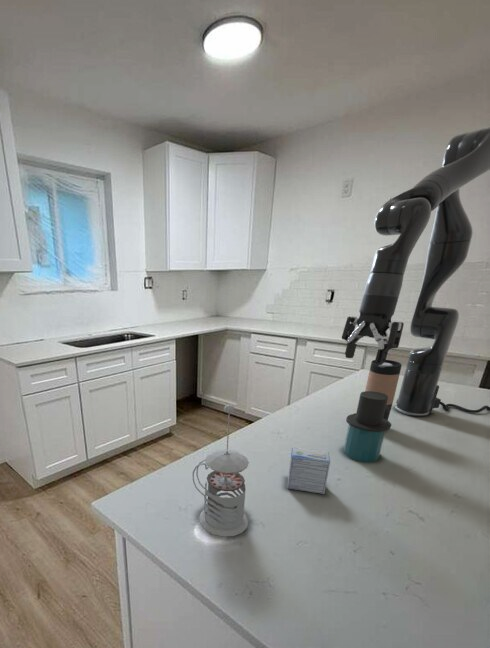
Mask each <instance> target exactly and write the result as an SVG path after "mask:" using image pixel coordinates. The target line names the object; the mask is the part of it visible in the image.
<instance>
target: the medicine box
mask: <svg viewBox="0 0 490 648" xmlns="http://www.w3.org/2000/svg"><path fill="white" fill-rule="evenodd" d="M330 457H331V456H330V452H328V451H323V450H317V449H308V448H302V447H301V448H300V447H291V452H290V459H289V468H288V476H287V485H286V488H287V489H289V490H296V491H303V492H307V493H308V492H309V493H314V494H322V495H325V492H326V487H327V483H328V482H327V481H328V476H329V471H330V466H331V458H330Z"/></svg>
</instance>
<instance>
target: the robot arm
mask: <svg viewBox="0 0 490 648" xmlns="http://www.w3.org/2000/svg"><path fill="white" fill-rule="evenodd" d="M442 158H443V159H442V164H441V167H439V168H437V169H435V170H433V171H432V172H430V173H429V174H428V175H426V176H424V177H423V178H422V179H421V180H420V181H418V183H416V184H415V185H414V186H413V187H412V188H410V189H408V190H405V191H403V192H401V193H400V194H398V195H396V196H394V197H392V198H390V199H389V200H387V201H386V202H384V204H383V205H381V207H380V208H379V209H378V211H377V213H376V214H375V217H374V230H375V231H376V233H378V234H379V235H380V236H386V237H388V236H398V238H397V239H396V240H395V241H394V242H393V243H390V244H387V245H383V246H381V247H379V248H377V250H376V251H375V254H374V257H373V261H372V264H371V268H370V271H369V275H368V278H367V280H366V283H365V287H364V290H363V295H362V299H361V301H360V302H361V303H360V307H359V310H358V311H359V316H347V318H346V321H345V324H344V328H343V331H342V335H341V339H342V340H344V341H346V343H347V344H346V348H345V353H344V356H345V358H346V359H353V358H354V356H355V353H356V349H357V345H358V344H357V342H359V340H360V339H362V338H364V337H368V338H372V339H374V341H375V342H376V343H377V345H378V349H377V352H376V356H375V359H374V360H375V363H374V364H376V365H382V364H383V363H384V362H385V361H386V360H387V357H388V354H389V352H390V350H393V349H397V348H399V346H400V342H401V339H402V338H401V337H402V334H403V331H404V330H403V329H404V325H405V323H404V322H403V321H392V317H393V316H394V315H395V312H396V308H397V305H398V301H399V297H400V295H401V291H402V287H403V280H404V276H405V273H406V270H407V269H406V268H407V266H408V261H409V258H410V255H411V254H412V252H413V250H414V248H415V247H416V245H417V243H418V241H419V239H420V237H421V235H422V234H423V233H424V231H425V229H426V227H427V226H428V223H429V221H430V218H431V215H432V212H433V211H434V210H435V215H434V220H433V225H432V229H431V234H430V238H429V242H428V247H427V252H426V257H425V265H424V269H423V275H422V280H421V285H420V289H419V292H418V296H417V299H416V303H415V307H414V310H413V314H412V317H411V322H410V326H409V327H410V328H409V329H410V331H409V332H410V334H411V336H413V337H415V338H420V339H427V340H428V339H429V340H434V341H433V343H432V344H431V345H429V346H425V347H418V348H417V347H416V348H413V349H411V350H410V352H409V355H408V358H407V362H406V365H405V370H404V373H403V378H402V381H401V386H400V389H399V394H398V398H397V399H396V405H395V410H396V411H397V412H399V413H400V414H403V415H407V416H410V417H411V416H412V417H427V416H429V414H430V415H431V414H432V412H433V409H439V408H440V406H441V407H442V409H443V410H444V411H448V410H449V407H452V408H455V409H457V410H461V411H463V412H466V413H469V414H470V413H471V414H477V413H482V412H483V411H484V410H487V411H490V406H489V405H483V406H482V407H481V408H478V409H468V408H465V407H463V406H460V405H458V404H454V403H446V404H445V402H443V401H442V398H438V397H437V396H438V393H439V389H440V385H439V380H440V376H441V373H442V369H443V367H444V364H445V363H444V362H445V360H446V356H447V354H448V352H449V348H450V346H451V343H452V340H453V338H454V334H455V332H456V329H457V326H458V324H459V319H460V313H459V311H458V309H456V308H450V307H441V306H440V307H439V306H433V303H434V300H435V297H436V296H437V293H438V292H439V291H440V289H441V288H442V286H443V285H444V284H445V283H446V282H447V281H448V280H449V279H450V278H451V277H452V276H453V275H454V274H455V273H456V272H457V271H458V270H459V269H460V268H461V267H462V265H463V264H464V263H465V262H466V259H467V257H468V254H469V250H470V246H471V242H472V239H473V238H472V237H473V233H474V232H473V231H474V230H473V226H472V223H471V220H470V218H469V216H468V214H467V212H466V211H465V209H464V206H463V204H462V201H461V196H460V189H461V188H462V187H464V186H465V185H468V183H470V182H472V181H473V180H475V179H477V178H479V177H481V176H482V175H483V174H485V173H487V172H489V171H490V127H486V128H481V129H475V130H473V131H468V132H464V133H460V134H459V133H458V134H457V135H454V136H453V137H451V139H450V140H449V142H448V144H447V146H446V147H445V151H444V154H443V157H442ZM356 326H357V327H356ZM388 330H389V334H388Z"/></svg>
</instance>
